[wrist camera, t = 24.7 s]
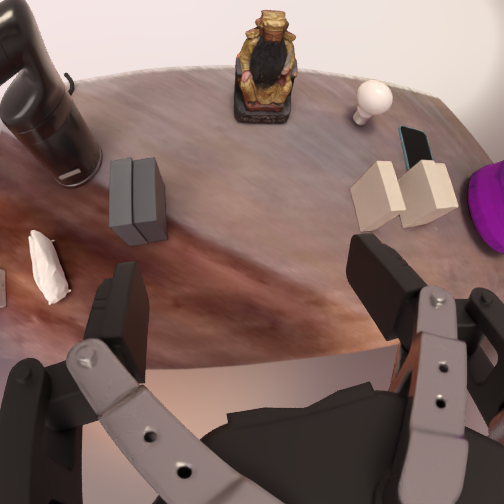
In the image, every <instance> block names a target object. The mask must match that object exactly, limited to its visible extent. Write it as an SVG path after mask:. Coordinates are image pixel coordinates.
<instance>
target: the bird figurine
mask: <svg viewBox="0 0 504 504" xmlns="http://www.w3.org/2000/svg"><path fill="white" fill-rule="evenodd" d="M30 234H31V236H32V237H31V236H29V245H30V254H31V259H32V263H33V266H32V267H33V276H34V279H35V281H36V284H37V285H38V287H39V289H40V290H41V291H42V292H43V294H44V296H45V298H46V299H47V300H48V301H49V305H50V304H51V303H56V302H58V301H59V300H60V299H62V298H64V297H65V296H66V294H67V293H68V292H70V291H71V290H69V289H68V283H67V280H66V279H65V276H64V272H63V270H62V267H61V265H60V262H59V259H58V256H57V253H56V250H55V248H54V246H53V244H52V242H54V241H55V240H51V241H50V240H49V239H48V238H47V237H45V236H44V235H43V234H42V233H40V232H37V231H36V230H31V233H30Z"/></svg>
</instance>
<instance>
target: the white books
mask: <svg viewBox="0 0 504 504" xmlns="http://www.w3.org/2000/svg"><path fill="white" fill-rule="evenodd" d="M397 181H398V184H399V187H400V191H401V194H402V198H403V201H404V205H405V208H406V210H405V211H404V212H402V213H400V214H399V215H400V219H401V222H402V226H403V228H407V227H415V226H417V225H424V224H428V223H429V222H431V221H433V220H435V219H437V218H439V217H441V216H443V215H445V214H446V213H448V212H450V211H452V210H454V209H456V208H458V207H459V206H458V203H457V199H456V196H455V193H454V190H453V187H452V184H451V181H450V178H449V175H448V172H447V169H446V166H445V164H443V163H434V161H432V160H421V161H419V162H418V163H417V164H416V165H415V166H413V167H412V168H411V169H410V170H409V171H408V172H406V173H405V174H404V175H403V176H402V177H400V178H399V179H398V180H397Z"/></svg>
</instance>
